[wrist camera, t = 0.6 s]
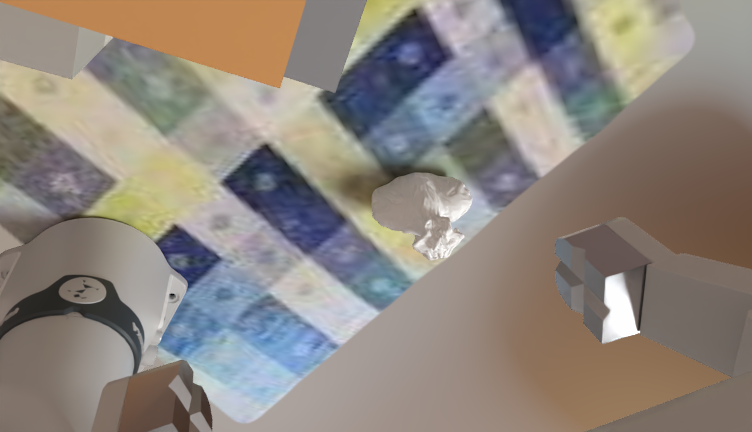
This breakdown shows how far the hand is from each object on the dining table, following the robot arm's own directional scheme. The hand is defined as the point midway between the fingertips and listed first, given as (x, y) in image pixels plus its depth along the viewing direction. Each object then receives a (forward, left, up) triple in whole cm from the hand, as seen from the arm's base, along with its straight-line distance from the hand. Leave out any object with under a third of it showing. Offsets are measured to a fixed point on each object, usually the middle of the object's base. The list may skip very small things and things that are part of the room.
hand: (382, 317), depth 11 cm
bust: (-14, -23, -45) cm, 52 cm away
